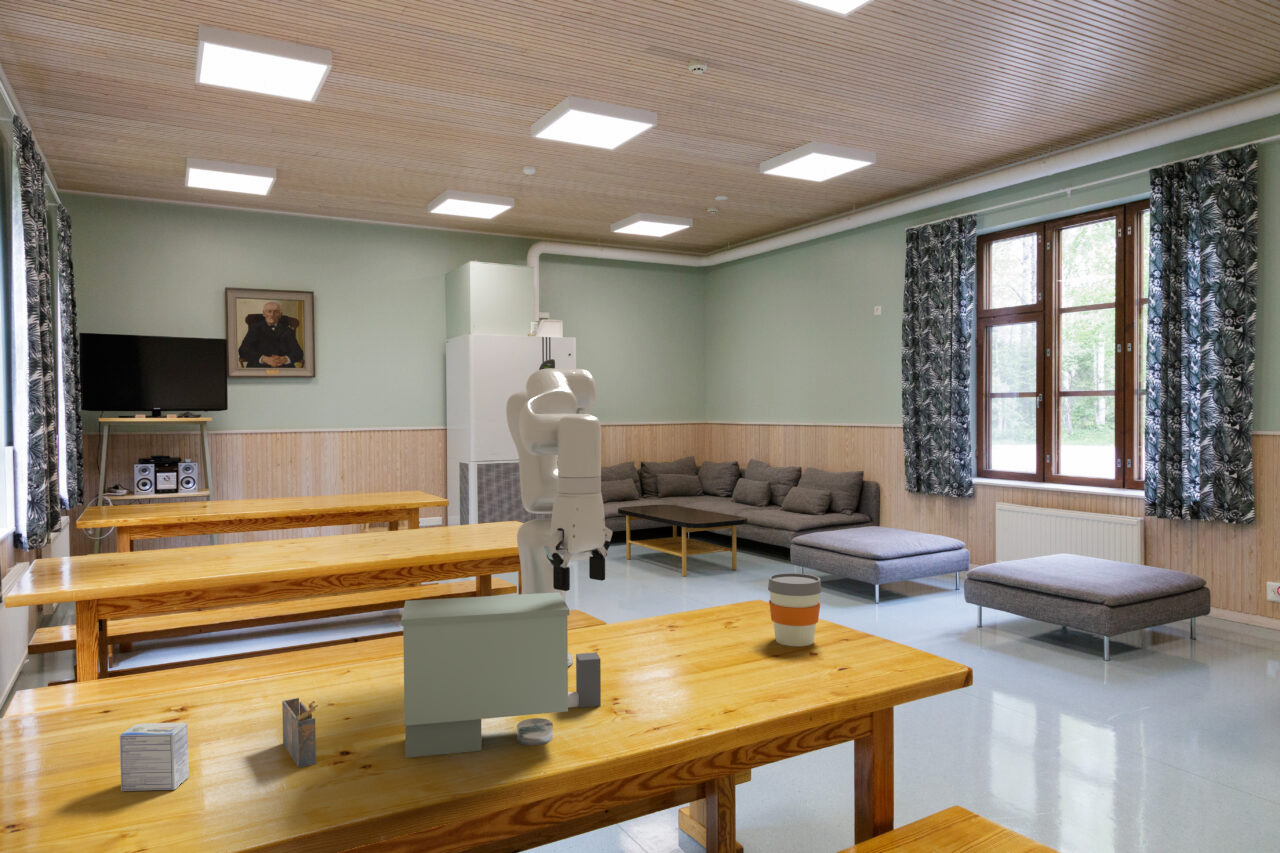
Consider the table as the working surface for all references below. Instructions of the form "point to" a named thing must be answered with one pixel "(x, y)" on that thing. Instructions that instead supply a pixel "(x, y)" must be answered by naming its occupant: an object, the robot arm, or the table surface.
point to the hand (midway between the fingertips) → (579, 584)
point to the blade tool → (586, 682)
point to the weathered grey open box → (299, 732)
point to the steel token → (534, 731)
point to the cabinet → (480, 666)
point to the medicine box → (154, 756)
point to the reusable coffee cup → (794, 607)
